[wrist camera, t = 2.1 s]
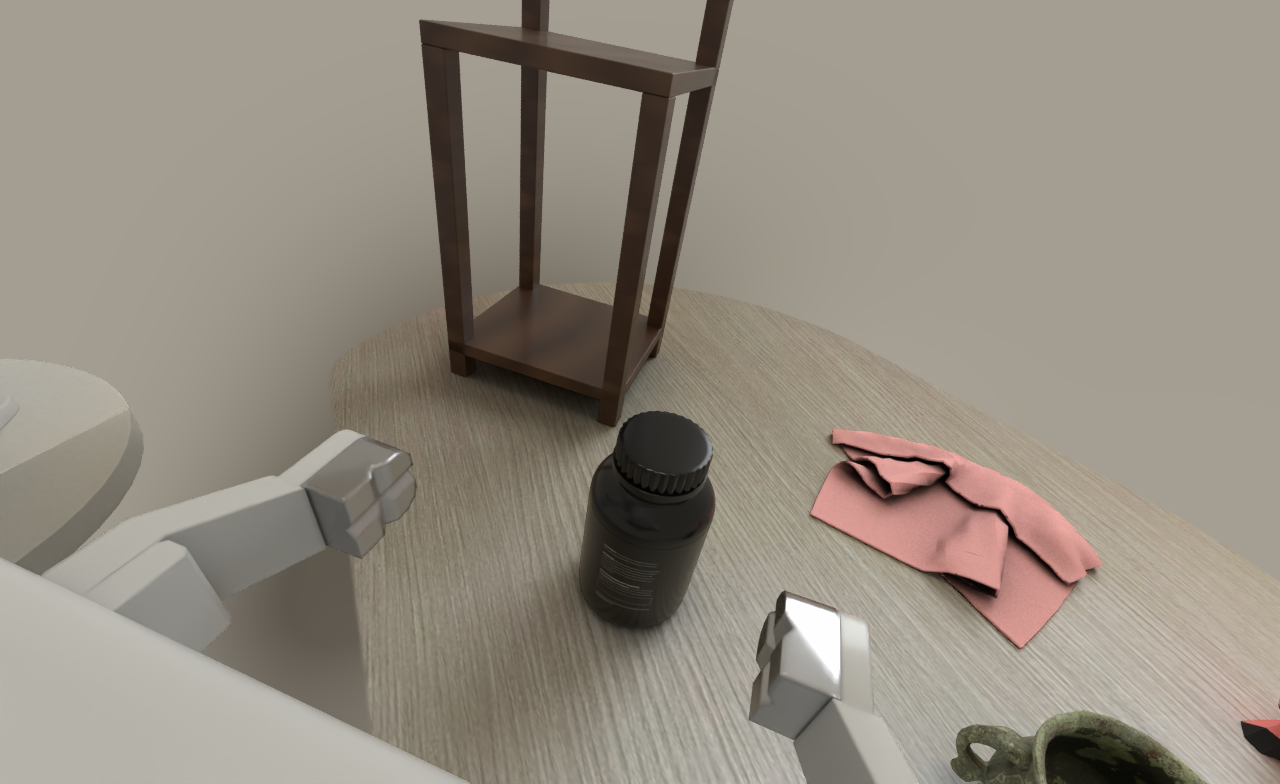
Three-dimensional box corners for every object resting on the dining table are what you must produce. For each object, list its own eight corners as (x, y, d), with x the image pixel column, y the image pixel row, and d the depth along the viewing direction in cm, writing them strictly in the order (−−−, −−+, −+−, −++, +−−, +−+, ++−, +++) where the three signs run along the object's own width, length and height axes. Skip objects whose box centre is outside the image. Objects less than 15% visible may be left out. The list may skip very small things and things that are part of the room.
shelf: (450, 372, 45) (365, -566, 19) (525, 309, 56) (537, -339, 30) (614, 427, 43) (778, -567, 16) (659, 350, 54) (801, -318, 27)
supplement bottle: (706, 592, 32) (763, 459, 24) (622, 657, 28) (660, 520, 20) (638, 518, 35) (671, 384, 28) (556, 565, 31) (569, 423, 24)
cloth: (1133, 575, 38) (1158, 556, 37) (958, 688, 29) (981, 670, 28) (920, 410, 52) (932, 392, 51) (755, 451, 43) (764, 430, 42)
